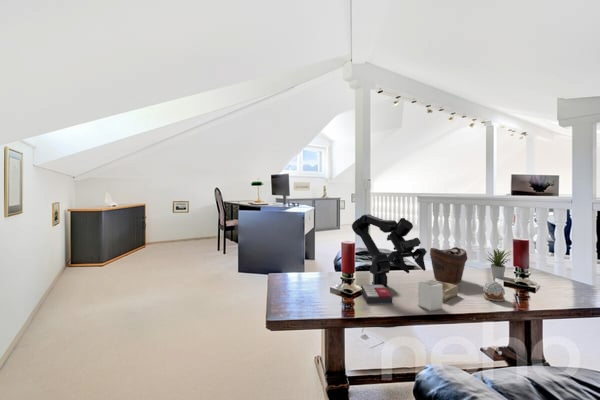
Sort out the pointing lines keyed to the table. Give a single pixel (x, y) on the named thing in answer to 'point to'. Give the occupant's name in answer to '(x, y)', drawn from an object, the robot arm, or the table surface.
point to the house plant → (498, 263)
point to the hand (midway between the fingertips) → (416, 271)
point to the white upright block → (430, 295)
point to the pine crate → (447, 290)
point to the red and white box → (376, 294)
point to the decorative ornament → (494, 289)
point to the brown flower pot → (448, 264)
